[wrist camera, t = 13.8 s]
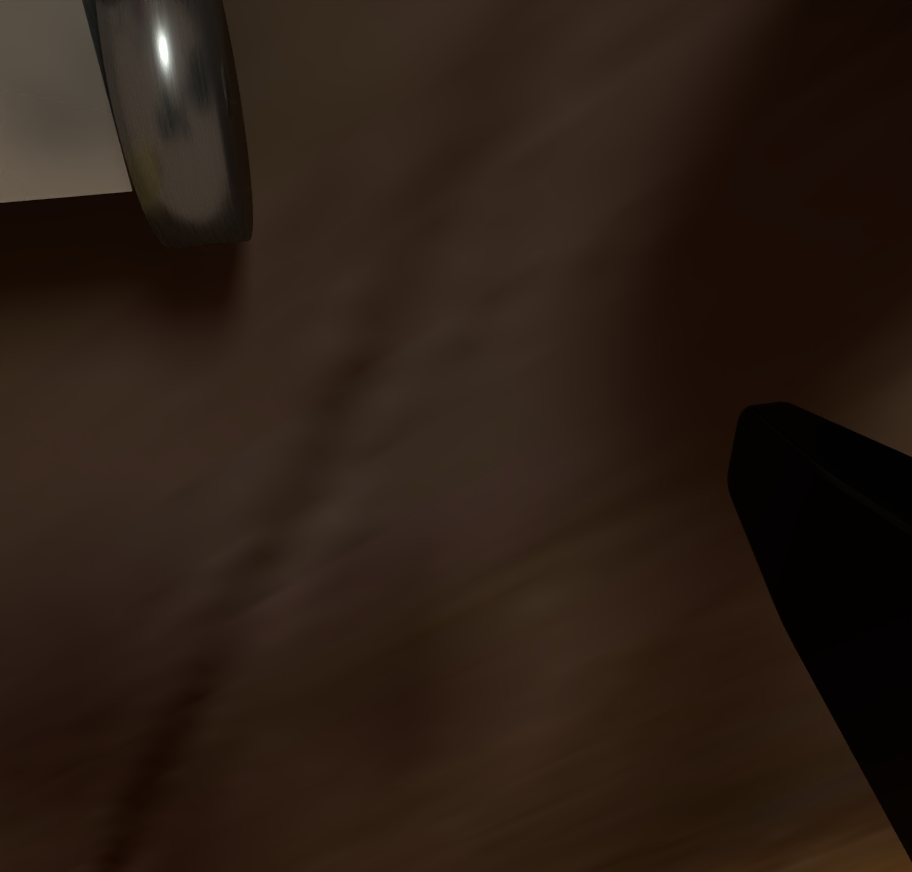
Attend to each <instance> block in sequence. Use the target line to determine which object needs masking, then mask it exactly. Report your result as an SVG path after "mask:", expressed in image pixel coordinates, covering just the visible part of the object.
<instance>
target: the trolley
mask: <svg viewBox="0 0 912 872" xmlns="http://www.w3.org/2000/svg"><path fill="white" fill-rule="evenodd" d="M134 188H135V191H136V193H137V196H138V199H139V202H140V204H141V207H142V209H143V212H144V214H145V216H146V219H147V221H148V223H149V225H150V227H151V229H152V231H153V232H154V234H155V236H156V237H157V239H158V240H159V241H160V243H161V244H162V245H164V246H165V247H167V248H177V247H188V246H198V245H209V244H220V243H230V242H241V241H249V240H251V237H252V231H253V205H252V189H251V178H250V168H249V158H248V150H247V142H246V134H245V126H244V119H243V112H242V106H241V99H240V93H239V86H238V80H237V74H236V68H235V62H234V57H233V51H232V46H231V41H230V35H229V30H228V25H227V20H226V15H225V11H224V6H223V1H222V0H0V203H4V202H15V201H27V200H38V199H50V198H61V197H73V196H84V195H96V194H107V193H119V192H130V191H133V189H134Z"/></svg>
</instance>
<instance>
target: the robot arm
mask: <svg viewBox="0 0 912 872" xmlns="http://www.w3.org/2000/svg"><path fill="white" fill-rule="evenodd" d="M727 481H728V489H729V493H730V496H731V499H732V502H733V504H734V506H735V509H736V511H737V514H738V516H739V519H740V521H741V524H742V526H743V529H744V531H745V534H746V536H747V539H748V541H749V544H750V546H751V548H752V551H753V553H754V556H755V558H756V561H757V563H758V566H759V568H760V571H761V573H762V576H763V578H764V581H765V583H766V586H767V588H768V590H769V593H770V595H771V598H772V600H773V603H774V605H775V607H776V610H777V612H778V614H779V616H780V619H781V621H782V623H783V625H784V627H785V629H786V631H787V633H788V635H789V637H790V639H791V641H792V643H793V645H794V647H795V649H796V650H797V652H798V654H799V656H800V658H801V660H802V661H803V663H804V665H805V667H806V669H807V671H808V672H809V674H810V676H811V678H812V680H813V682H814V683H815V685H816V687H817V689H818V691H819V693H820V694H821V696H822V698H823V700H824V702H825V704H826V705H827V707H828V709H829V711H830V713H831V715H832V717H833V718H834V720H835V722H836V724H837V726H838V728H839V729H840V731H841V733H842V735H843V737H844V739H845V740H846V742H847V744H848V746H849V748H850V750H851V751H852V753H853V755H854V757H855V759H856V761H857V762H858V764H859V766H860V768H861V770H862V772H863V773H864V775H865V777H866V779H867V781H868V783H869V784H870V786H871V788H872V790H873V792H874V794H875V795H876V797H877V799H878V801H879V803H880V805H881V806H882V808H883V810H884V812H885V814H886V816H887V817H888V819H889V821H890V823H891V825H892V827H893V828H894V830H895V832H896V834H897V836H898V838H899V839H900V841H901V843H902V845H903V847H904V849H905V850H906V852H907V854H908V856H909V858H910V860H911V861H912V457H911V456H908V455H906V454H904V453H901V452H899V451H897V450H895V449H892V448H890V447H888V446H886V445H883V444H881V443H879V442H877V441H874V440H872V439H870V438H868V437H865V436H863V435H861V434H858V433H856V432H854V431H852V430H849V429H847V428H845V427H843V426H840V425H838V424H836V423H834V422H831V421H829V420H827V419H824V418H822V417H820V416H818V415H815V414H813V413H811V412H809V411H806V410H804V409H802V408H800V407H797V406H795V405H793V404H790V403H788V402H774V403H766V404H758V405H751V406H748V407H746V408H745V409H744V410H743V411H742V412H741V414H740V416H739V418H738V422H737V427H736V432H735V437H734V442H733V447H732V452H731V457H730V463H729V468H728V476H727Z"/></svg>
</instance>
